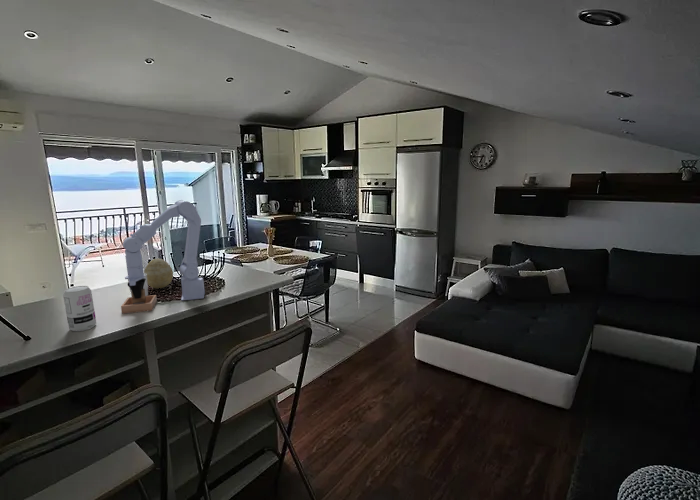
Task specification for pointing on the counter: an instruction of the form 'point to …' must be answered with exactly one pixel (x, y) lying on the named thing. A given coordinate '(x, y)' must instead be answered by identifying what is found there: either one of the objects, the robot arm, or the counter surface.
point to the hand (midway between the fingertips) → (138, 297)
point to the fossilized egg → (158, 273)
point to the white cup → (144, 285)
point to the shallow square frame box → (139, 305)
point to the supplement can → (79, 308)
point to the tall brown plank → (142, 299)
